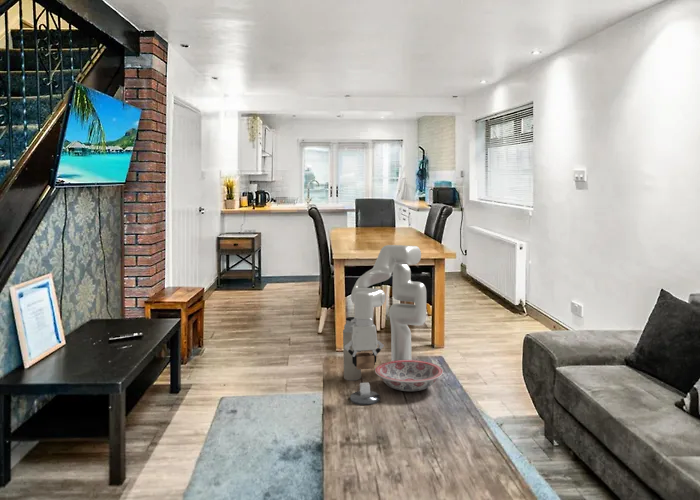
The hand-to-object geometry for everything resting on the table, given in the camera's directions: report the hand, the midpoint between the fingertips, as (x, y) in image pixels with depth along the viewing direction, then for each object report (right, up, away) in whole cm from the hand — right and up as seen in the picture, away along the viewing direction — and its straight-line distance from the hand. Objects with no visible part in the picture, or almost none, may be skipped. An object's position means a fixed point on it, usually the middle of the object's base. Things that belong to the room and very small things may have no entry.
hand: (364, 364), depth 229 cm
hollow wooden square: (0, -1, 0) cm, 1 cm away
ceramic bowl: (+20, -13, +15) cm, 28 cm away
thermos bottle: (-5, -12, +29) cm, 32 cm away
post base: (0, -15, +2) cm, 15 cm away
